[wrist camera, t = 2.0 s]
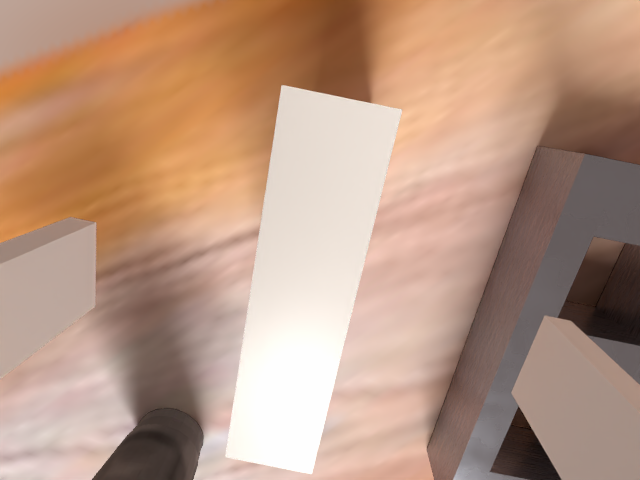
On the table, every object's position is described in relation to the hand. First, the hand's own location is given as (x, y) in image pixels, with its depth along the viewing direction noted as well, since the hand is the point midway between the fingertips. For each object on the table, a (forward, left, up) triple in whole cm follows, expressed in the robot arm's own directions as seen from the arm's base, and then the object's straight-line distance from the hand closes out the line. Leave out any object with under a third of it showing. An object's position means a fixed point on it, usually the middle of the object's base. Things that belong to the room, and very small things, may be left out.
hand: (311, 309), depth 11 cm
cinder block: (+14, -4, -10) cm, 18 cm away
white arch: (0, 0, -10) cm, 10 cm away
